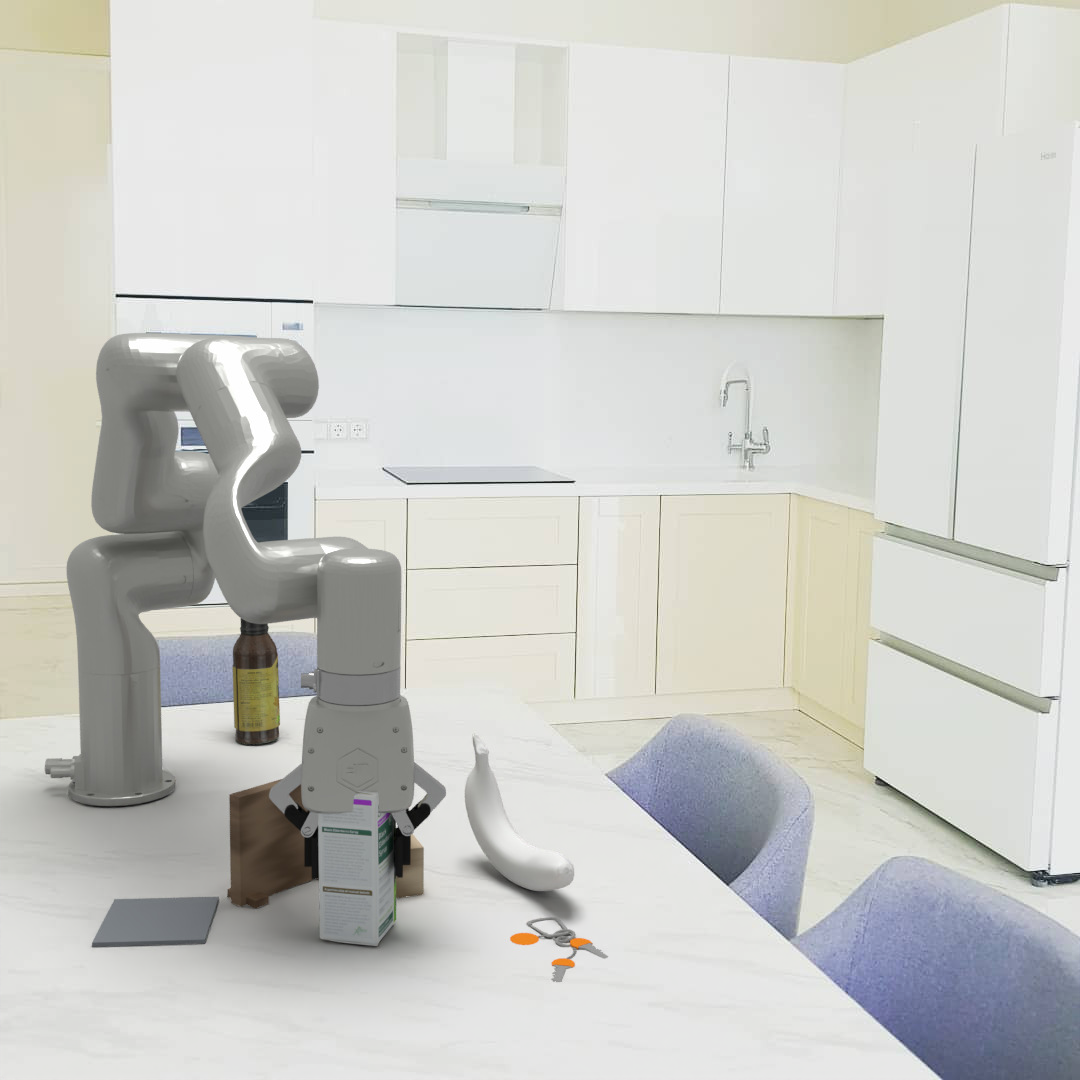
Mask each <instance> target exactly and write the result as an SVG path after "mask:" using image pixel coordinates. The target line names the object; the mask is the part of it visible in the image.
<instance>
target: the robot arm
mask: <svg viewBox="0 0 1080 1080" xmlns="http://www.w3.org/2000/svg"><path fill="white" fill-rule="evenodd" d="M95 370H96V371H95V379H96V381H95V382H96V387H97V393H98V396H99V397H98V398H99V403H100V411H101V427H100V432H99V436H98V437H99V438H98V445H97V451H96V458H95V464H94V465H95V466H94V473H93V480H92V487H91V489H92V490H91V501H90V502H91V505H90V506H91V513H92V517H93V518H94V521H95V523H96V525H98V527H100V528H101V529H103V530H105V531H107V532H110V533H112V534H108V535H106V534H105V535H102V536H101V535H100V536H95V537H92V538H89V539H86V540H84V541H82V542H80V543H79V544H78V545H76V546H75V547H74V548H73V549H72V550H71V552H70V553H69V555H68V559H67V562H66V579H67V585H68V586H67V587H68V591H69V596H70V600H71V601H70V602H71V605H72V610H73V616H74V624H75V631H76V632H75V633H76V647H77V648H76V649H77V673H78V674H77V675H78V677H77V678H78V680H77V681H78V707H79V710H78V711H79V742H80V743H79V745H80V748H79V749H80V753H79V755H73V756H72V758H65V759H64V758H61V757H60V758H46V759H45V764H44V772H45V775H50V778H51V779H63V778H69V779H70V780H71V782H70V783H69V784H68V786H67V789H68V790H67V791H68V793H67V794H68V796H69V798H70V799H71V800H73V801H75V802H77V803H80V804H84V805H88V806H96V807H121V806H133V805H138V804H145V803H149V802H153V801H156V800H159V799H162V798H164V797H167V796H168V795H170V794H171V793H173V792H174V791H175V789H176V786H177V779H176V776H175V775H174V774H173V773H171V772H169V771H168V770H164V769H163V732H162V731H163V730H162V724H163V723H162V690H161V689H162V686H161V683H162V681H161V654H160V653H161V652H160V647H159V644H158V642H157V639H156V638H155V636H154V635H153V633H152V632H151V630H149V629H148V627H146V625H145V624H144V623H143V622H142V620H141V618H140V616H139V615H140V614H141V613H146V612H151V611H156V610H157V611H159V610H160V611H161V610H168V609H176V608H183V607H191V606H194V605H197V604H200V603H202V602H204V601H205V600H206V599H207V598H208V596H209V595H210V594H211V592H212V589H213V588H214V585H215V581H216V583H217V584H218V587H219V589H220V591H221V593H222V595H223V597H224V599H225V601H226V603H227V604H228V606H229V607H230V609H231V610H232V611H233V612H234V614H235V615H237V616H238V617H239V618H240V619H241V618H242V619H243V620H245V621H247V622H250V623H255V624H268V625H269V624H277V623H283V622H291V621H301V620H307V619H316V665H317V668H314V669H313V671H309V672H308V673H307V672H306V673H305V672H304V673H303V672H301V673H300V688H301V689H304V688H305V689H309V690H313V693H316V695H315V696H314V697H312V698H311V699H310V700H309V702H308V705H307V709H306V714H305V720H304V727H303V737H302V754H301V763H300V764H299V765H298V766H297V767H295V768H294V769H293V770H292V771H290V772H289V773H288V774H287V775H285V776H284V777H283V778H281V779H282V780H281V781H279V782H278V783H277V784H276V785H274V786H273V787H272V788H271V790H270V793H269V798H270V799H271V801H272V802H273V803H274V804H275V805H276V806H277V807H278V808H279V809H280V811H282V812H283V813H284V815H285V817H286V818H287V819H288V820H289V821H290V822H291V823H292V824H293V825H294V826H295V827H297V828H298V829H299V830H300V831H301V834H302V836H304V866H305V867H312V879H314V880H318V879H317V878H319V865H318V864H319V859H318V813H319V814H340V813H347V812H353V802H354V796H355V795H357V794H360V793H357V792H355V791H368V792H377V793H378V796H379V812H380V813H391V814H392V816H393V817H394V819H395V821H396V826H397V827H396V828H395V876H397V878H403V865H410V862H411V835H412V834H413V835H414V832H415V830H416V829H417V828H418V827H419V826H420V825H421V824H423V822H424V821H425V820H427V818H428V817H429V816H430V815H431V813H432V811H433V810H435V809H436V808H437V806H439V805H440V803H441V802H442V801H443V800H444V799H445V798H446V796H447V791H446V790H447V789H446V787H445V786H444V784H443V783H441V782H440V781H439V780H437V779H436V778H435V777H434V776H433V775H431V774H430V773H429V772H428V771H426V770H425V769H424V768H423V767H422V766H420V765H419V764H418V763H417V762H415V755H414V754H415V753H414V751H415V748H414V733H413V723H412V716H411V710H410V705H409V701H408V699H407V698H406V697H405V696H403V695H401V660H402V659H401V652H402V651H401V649H402V647H401V646H402V643H401V642H402V641H401V640H402V565H401V563H400V560H399V558H397V556H396V555H395V554H393V553H391V552H389V551H387V550H382V549H375V548H369V547H367V546H366V545H364V544H363V543H361V542H360V541H358V540H356V539H354V538H350V537H346V536H327V537H324V536H323V537H313V538H295V539H283V540H281V539H280V540H270V541H269V540H268V541H261V542H258V541H257V540H256V539H255V538H254V536H253V534H252V532H251V530H250V528H249V526H248V524H247V521H246V519H245V516H244V514H243V511H242V508H244V507H246V506H247V505H249V504H251V503H252V502H254V501H256V500H259V498H261V497H263V496H265V495H267V494H269V493H270V492H272V491H274V490H276V489H277V488H278V487H280V486H282V485H283V484H284V483H285V482H287V480H289V479H290V478H291V477H292V475H293V474H294V473H295V472H296V470H297V469H298V467H299V465H300V463H301V459H302V448H301V443H300V442H299V440H298V437H297V436H296V434H295V432H294V430H293V428H292V426H291V424H290V422H289V420H288V419H296V418H300V417H303V416H305V415H306V414H308V413H309V412H310V411H311V410H312V409H313V408H314V406H315V404H316V402H317V399H318V396H319V388H320V384H319V376H318V371H317V368H316V364H315V363H314V360H313V358H312V357H311V356H310V354H309V353H308V351H307V349H305V348H304V347H303V346H302V345H301V344H299V343H298V342H296V341H294V340H292V339H289V338H280V337H279V338H277V337H254V336H242V335H225V334H223V335H221V334H219V335H218V334H217V335H215V334H191V333H171V332H169V333H165V332H164V333H163V332H132V333H130V332H129V333H122V334H118V335H114V336H112V337H110V338H109V339H108V340H107V341H106V342H105V343H104V344H103V346H102V348H101V349H100V352H99V354H98V357H97V360H96V369H95ZM176 412H181V413H182V412H186V413H187V412H189V414H190V415H191V417H192V419H193V422H194V424H195V426H196V429H197V431H198V433H199V435H200V437H201V439H202V442H203V443H204V446H205V448H206V450H207V452H208V453H207V452H203V451H192V450H191V451H188V450H187V451H176V447H177V444H178V440H179V422H178V417H177V415H176ZM300 784H301V797H302V804H303V806H304V808H305V809H307V810H308V811H307V812H306V811H305V810H304V809H303V808H302V807H301V806H300V805H299V804H298V803H296V802H294V801H293V799H292V798H291V797H290V795H289V793H290V792H292V791H293V790H294V789H295V788H297V787H298V786H299V785H300ZM415 784H416V785H417V786H418V787H419V788H421V789H422V790H423V791H425V793H426V794H425V795H424V796H423V798H422V799H421V800H420V801H418V802H417V803H416V804H415V805H414V806H413V807H412V808H411V809H410V807H411V806H412V805H413V800H414V796H415V795H414V794H415Z"/></svg>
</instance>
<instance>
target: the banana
mask: <svg viewBox="0 0 1080 1080" xmlns="http://www.w3.org/2000/svg"><path fill="white" fill-rule="evenodd" d="M472 746H473V750H474V755H475V756H474V757H475V763H474V766H473V768H472V769H471V770H470V772H469V774H468V775H467V778H466V781H465V787H464V803H465V809H466V814H467V818H468V821H469V824H470V828H471V831H472V833H473V835H474V837H475V839H476V842H477V844H478V846H479V847H480V850H482V852H483V853H484V855H485V857H486V858H487V860H488V861H489V862H490V863H491V865H492V866H493V867H494V868H495V869H496V870H497V871H498V872H499V873H500V874H501V875H502V876H503V877H504V878H506V879H507V880H509V881H510V882H511V883H514V884H515V885H517V886H519V887H522V888H525V889H526V890H530V891H534V892H549V891H554V890H559V889H564V888H566V887H567V886H569V885H571V884H572V882H573V881H574V877H575V868H574V864H573V863H572V861H571V860H570V859H569V858H568V857H566V856H565V855H564V854H562V853H561V852H558V851H556V850H548V849H545V848H544V849H543V848H539V847H537V846H534V845H532V844H531V843H529V842H528V841H526V840H524V839H523V838H522V836H520V834H519V832H518V831H516V829H515V827H514V826H513V825H512V824H513V823H512V822H511V821H510V819H509V816H508V815H507V812H506V809H505V806H504V802H503V798H502V796H501V791H500V789H499V785H498V781H497V778H496V776H495V773H494V771H493V770H492V769H491V766H490V763H489V753H490V752H489V751H490V750H489V749H488V746H487V745H486V743H484V741H483V739H482V738H481V736H479V735H478V734H476V733H473V734H472Z"/></svg>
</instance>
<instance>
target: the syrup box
mask: <svg viewBox="0 0 1080 1080" xmlns="http://www.w3.org/2000/svg"><path fill="white" fill-rule="evenodd" d="M355 792H357V793H360V794H357V795H355V796H354V802H353V812H347V813H340V814H319V813H318V859H319V864H318V865H319V879H318V921H319V924H318V925H319V927H318V928H319V938H320V939H321V940H325V941H331V942H335V943H336V942H337V943H344V944H353V945H362V946H363V945H364V946H374V947H377V946H378V945H379V943H380V941H381V940H382V939H383V938H384V937H385V936H386V934H387V933H388V932H389V931H390V929H391V928H392V926H393V925H394V924H395V922H396V921H397V898H396V876H395V828H397V823H396V821H395V819H394V817H393V816H392V814H391V813H380V812H379V796H378V793H377V792H368V791H355Z"/></svg>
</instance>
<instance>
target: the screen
mask: <svg viewBox="0 0 1080 1080" xmlns="http://www.w3.org/2000/svg"><path fill="white" fill-rule="evenodd" d="M282 779H283V778H280V779H278V780H277V779H276V780H274V781H270V782H267V783H263V784H260V785H256V786H253V787H250V788H246V789H242V790H240V791H239V790H238V791H237V792H233V793H230V794H228V795H229V798H228V799H229V804H228V805H229V860H230V861H229V862H230V864H229V865H230V868H229V870H230V871H229V872H230V888H227V889H226V893H227V896H226V897H227V898H229V899H230V903H231V904H233V905H235V906H238V907H241V908H242V907H244V906H248V907H252V908H254V909H259V908H261V907H264V906H267V905H270V897H271V896H273V895H277V894H279V893H281V892H284V891H287V890H289V889H292V888H294V887H298V886H300V885H302V884H305V883H308V882H310V881H313V880H315V879H312V867H305V866H304V836H302V834H301V831H300V830H299V829H298V828H297V827H295V826H294V825H293V824H292V823H291V822H290V821H289V820H288V819H287V818H286V817H285V815H284V813H283V812H282V811H280V809H279V808H278V807H277V806H276V805H275V804H274V803H273V802H272V801H271V799H270V798H269V793H270V790H271V788H272V787H273V786H274V785H276V784H277V783H278V782H279V781H281V780H282ZM289 795H290V797H291V798H292V799H293V801H294V802H296V803H298V804H299V805H300V806H301V807H302V808H303V809H304V810H305V811H306V812H307V811H308V810H307V809H305V808H304V806H303V804H302V797H301V784H300V785H299V786H298V787H297V788H295V789H294V790H293V791H292V792H290V793H289ZM316 880H319V878H317V879H316Z"/></svg>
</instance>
